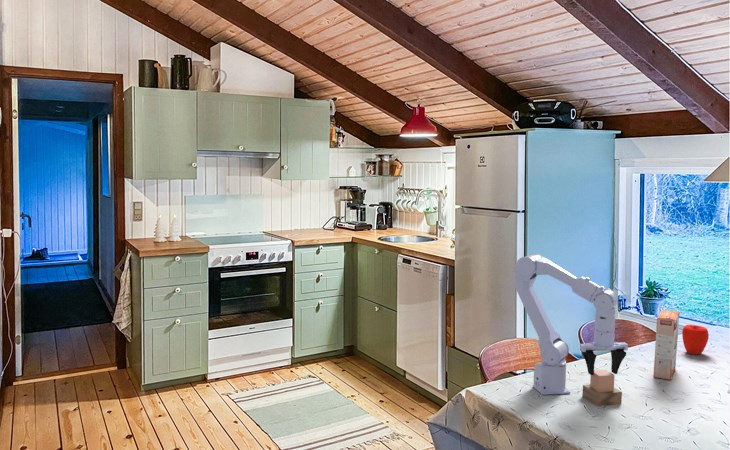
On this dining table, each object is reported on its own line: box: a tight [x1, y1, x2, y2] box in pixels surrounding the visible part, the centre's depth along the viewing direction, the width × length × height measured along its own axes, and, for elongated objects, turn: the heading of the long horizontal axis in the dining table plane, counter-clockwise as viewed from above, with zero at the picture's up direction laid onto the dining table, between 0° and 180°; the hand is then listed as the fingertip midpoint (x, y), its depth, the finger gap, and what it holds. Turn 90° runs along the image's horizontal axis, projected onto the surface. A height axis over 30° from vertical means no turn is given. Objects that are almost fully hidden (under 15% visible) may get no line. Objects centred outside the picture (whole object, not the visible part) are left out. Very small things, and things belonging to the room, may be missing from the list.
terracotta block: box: [589, 369, 616, 392], centre depth 191 cm, size 5×5×5 cm
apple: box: [681, 324, 710, 355], centre depth 238 cm, size 9×9×11 cm
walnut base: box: [581, 383, 623, 407], centre depth 191 cm, size 8×8×4 cm
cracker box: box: [653, 309, 680, 381], centre depth 214 cm, size 14×6×21 cm, turn 148°
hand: (602, 373), depth 190 cm, fingers open, 7 cm apart
